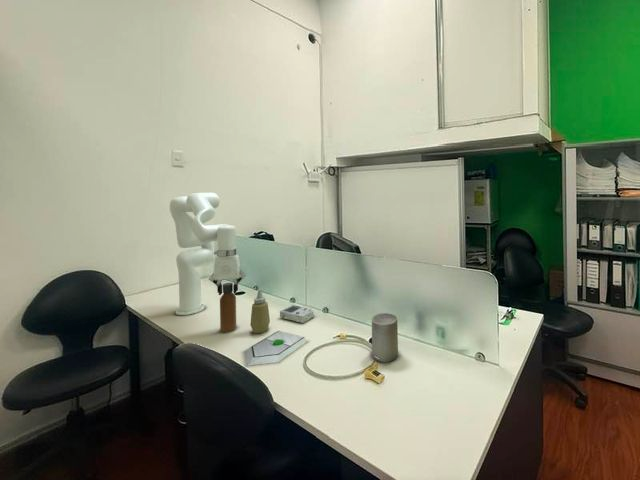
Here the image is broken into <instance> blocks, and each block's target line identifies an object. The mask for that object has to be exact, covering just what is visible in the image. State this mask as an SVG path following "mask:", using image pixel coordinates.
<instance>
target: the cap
mask: <svg viewBox="0 0 640 480" xmlns="http://www.w3.org/2000/svg"><path fill="white" fill-rule="evenodd" d="M233 285H234V282H225V283H222V294H224V293H231V292H232V293H234V291H233Z"/></svg>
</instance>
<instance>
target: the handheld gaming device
mask: <svg viewBox="0 0 640 480" xmlns="http://www.w3.org/2000/svg"><path fill="white" fill-rule="evenodd" d="M314 316H315V312H314V310H313V309H311V308H308V307H304V306H300V305H295V304H291V305H289V306H288V307H285V308H283V309H281V310H279V317H280V318H281V319H285V320H289V321H294V322H297V323H301V324H303V323H306V322H307V321H309V320H311V319H313V317H314Z"/></svg>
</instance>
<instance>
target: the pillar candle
mask: <svg viewBox="0 0 640 480" xmlns="http://www.w3.org/2000/svg"><path fill="white" fill-rule="evenodd" d="M370 320H371V355H372V358H373V360H376V361H378V362H381V363H388V362H389V363H390V362H393V361H394V360H396V359H397V357H398V356H399V338H398V337H399V333H398V329H399V328H398V326H399V325H398V317H397V316H396V315H394V314H392V313H388V312H381V313H377V314H374V315H372V317H371V318H370ZM375 356H376V357H378V358H379V359H378V358H376V357H375Z"/></svg>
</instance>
